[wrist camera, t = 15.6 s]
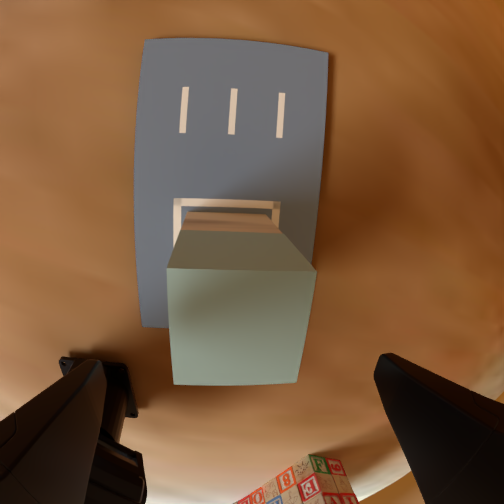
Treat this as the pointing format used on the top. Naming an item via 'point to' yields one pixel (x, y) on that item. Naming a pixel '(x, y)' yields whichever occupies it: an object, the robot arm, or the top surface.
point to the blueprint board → (224, 145)
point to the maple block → (229, 222)
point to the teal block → (237, 308)
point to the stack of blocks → (306, 485)
